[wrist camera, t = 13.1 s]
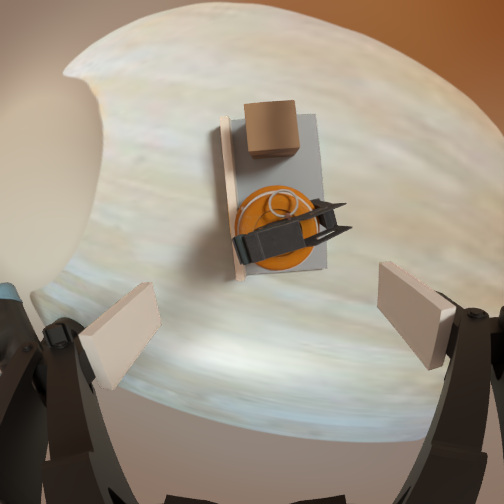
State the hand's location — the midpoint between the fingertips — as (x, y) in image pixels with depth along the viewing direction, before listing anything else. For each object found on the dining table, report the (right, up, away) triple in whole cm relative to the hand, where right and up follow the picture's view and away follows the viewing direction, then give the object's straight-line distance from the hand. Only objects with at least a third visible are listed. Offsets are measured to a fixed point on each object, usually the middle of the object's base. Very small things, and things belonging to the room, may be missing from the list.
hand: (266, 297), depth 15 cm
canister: (+4, +8, +26) cm, 28 cm away
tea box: (+2, +19, +23) cm, 30 cm away
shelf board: (+3, +11, +26) cm, 29 cm away
